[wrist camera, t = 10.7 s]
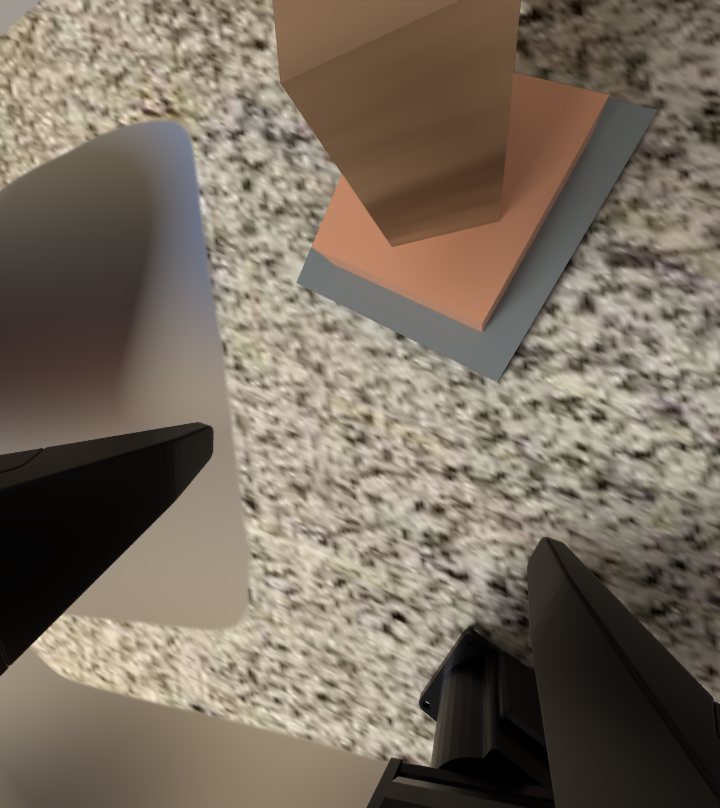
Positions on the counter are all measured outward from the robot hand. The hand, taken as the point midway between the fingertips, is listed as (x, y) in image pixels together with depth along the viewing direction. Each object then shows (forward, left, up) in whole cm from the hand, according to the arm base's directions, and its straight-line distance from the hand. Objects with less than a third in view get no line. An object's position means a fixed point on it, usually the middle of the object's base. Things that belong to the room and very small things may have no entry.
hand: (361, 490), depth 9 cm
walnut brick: (+11, +5, -9) cm, 15 cm away
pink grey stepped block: (+11, +5, -13) cm, 18 cm away
